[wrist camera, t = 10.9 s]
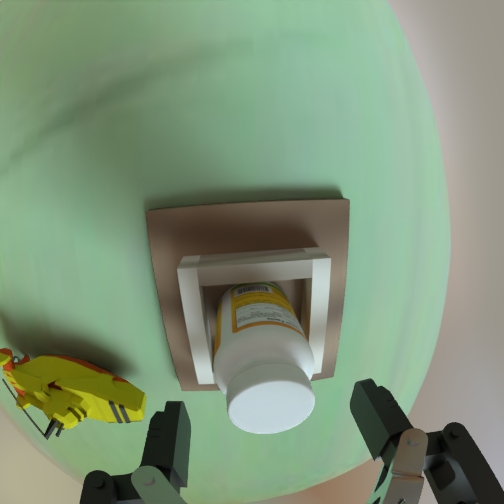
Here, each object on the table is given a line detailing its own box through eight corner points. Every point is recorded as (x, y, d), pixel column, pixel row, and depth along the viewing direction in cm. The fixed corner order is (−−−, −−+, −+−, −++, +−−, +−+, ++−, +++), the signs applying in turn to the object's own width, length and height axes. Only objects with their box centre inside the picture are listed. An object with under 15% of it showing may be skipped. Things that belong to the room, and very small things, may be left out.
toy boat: (11, 331, 20) (-35, 380, 11) (146, 353, 22) (114, 440, 12) (30, 374, 22) (-5, 425, 12) (158, 400, 24) (141, 480, 14)
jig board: (149, 209, 18) (133, 217, 15) (344, 198, 19) (365, 204, 16) (183, 383, 23) (178, 410, 19) (330, 370, 24) (341, 394, 20)
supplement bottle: (253, 352, 21) (269, 451, 12) (201, 313, 20) (186, 413, 10) (303, 308, 20) (351, 398, 11) (253, 262, 19) (275, 344, 9)
